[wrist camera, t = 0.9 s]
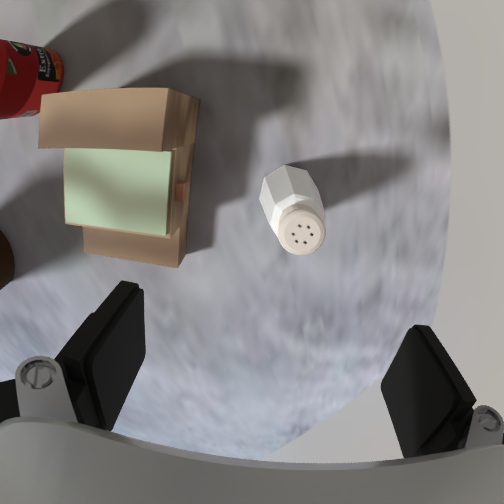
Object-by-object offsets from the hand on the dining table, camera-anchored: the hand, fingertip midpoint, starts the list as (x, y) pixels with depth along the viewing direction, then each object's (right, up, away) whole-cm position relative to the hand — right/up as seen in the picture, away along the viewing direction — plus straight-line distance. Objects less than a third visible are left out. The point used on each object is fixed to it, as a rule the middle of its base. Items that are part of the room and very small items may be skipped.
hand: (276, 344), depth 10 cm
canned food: (-24, +21, +14) cm, 35 cm away
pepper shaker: (+3, +8, +18) cm, 20 cm away
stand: (-11, +10, +18) cm, 23 cm away
